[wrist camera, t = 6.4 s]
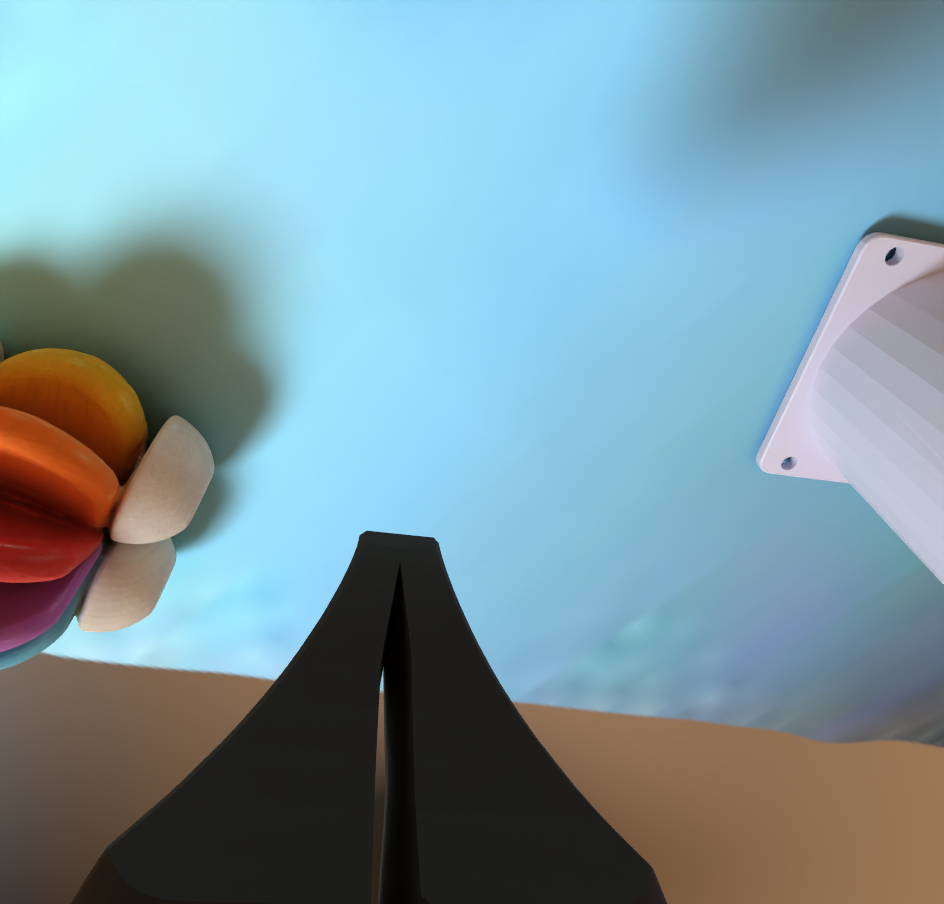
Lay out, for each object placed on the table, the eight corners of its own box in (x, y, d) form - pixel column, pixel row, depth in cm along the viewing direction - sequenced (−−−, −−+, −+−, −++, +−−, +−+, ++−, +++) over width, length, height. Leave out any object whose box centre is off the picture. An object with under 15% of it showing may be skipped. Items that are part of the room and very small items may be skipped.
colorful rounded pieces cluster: (250, 394, 21) (176, 547, 15) (160, 597, 25) (74, 782, 19) (-52, 263, 18) (-296, 383, 12) (-95, 515, 22) (-291, 698, 16)
